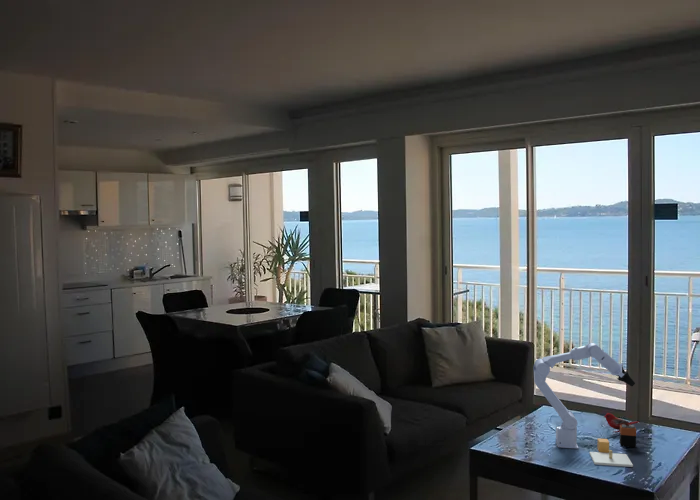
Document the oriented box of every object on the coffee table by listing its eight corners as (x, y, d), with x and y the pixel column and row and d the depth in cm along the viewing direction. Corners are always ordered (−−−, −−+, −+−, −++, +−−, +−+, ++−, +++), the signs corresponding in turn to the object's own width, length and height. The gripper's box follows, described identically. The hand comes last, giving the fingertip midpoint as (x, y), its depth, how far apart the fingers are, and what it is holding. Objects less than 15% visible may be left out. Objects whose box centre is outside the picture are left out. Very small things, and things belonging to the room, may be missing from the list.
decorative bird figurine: (602, 430, 318) (602, 411, 317) (638, 432, 316) (639, 413, 315) (603, 433, 315) (604, 413, 315) (640, 434, 313) (641, 415, 312)
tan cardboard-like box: (599, 452, 291) (599, 441, 291) (597, 448, 295) (597, 438, 295) (609, 452, 290) (609, 442, 290) (607, 449, 294) (607, 438, 294)
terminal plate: (594, 464, 277) (594, 454, 277) (589, 453, 289) (589, 444, 289) (632, 467, 274) (633, 457, 274) (626, 456, 286) (626, 446, 286)
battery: (636, 447, 296) (636, 427, 295) (620, 446, 298) (621, 426, 297) (634, 444, 300) (635, 424, 300) (619, 443, 302) (619, 422, 301)
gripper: (618, 360, 285) (641, 380, 284) (611, 353, 300) (633, 372, 298) (607, 371, 287) (630, 391, 285) (600, 363, 301) (622, 382, 300)
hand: (631, 382), depth 292 cm, fingers open, 7 cm apart
